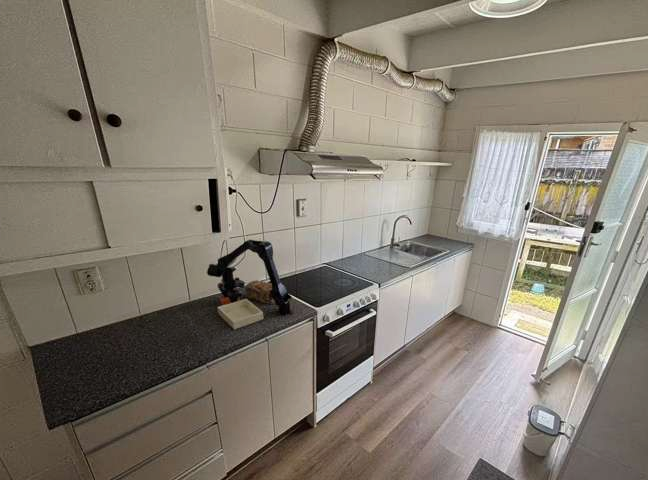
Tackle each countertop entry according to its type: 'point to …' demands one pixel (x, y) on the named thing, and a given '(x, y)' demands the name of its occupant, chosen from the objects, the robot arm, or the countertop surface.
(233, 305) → the cream rectangular tray
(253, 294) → the bread
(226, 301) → the snack bar
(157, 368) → the countertop surface
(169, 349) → the countertop surface
